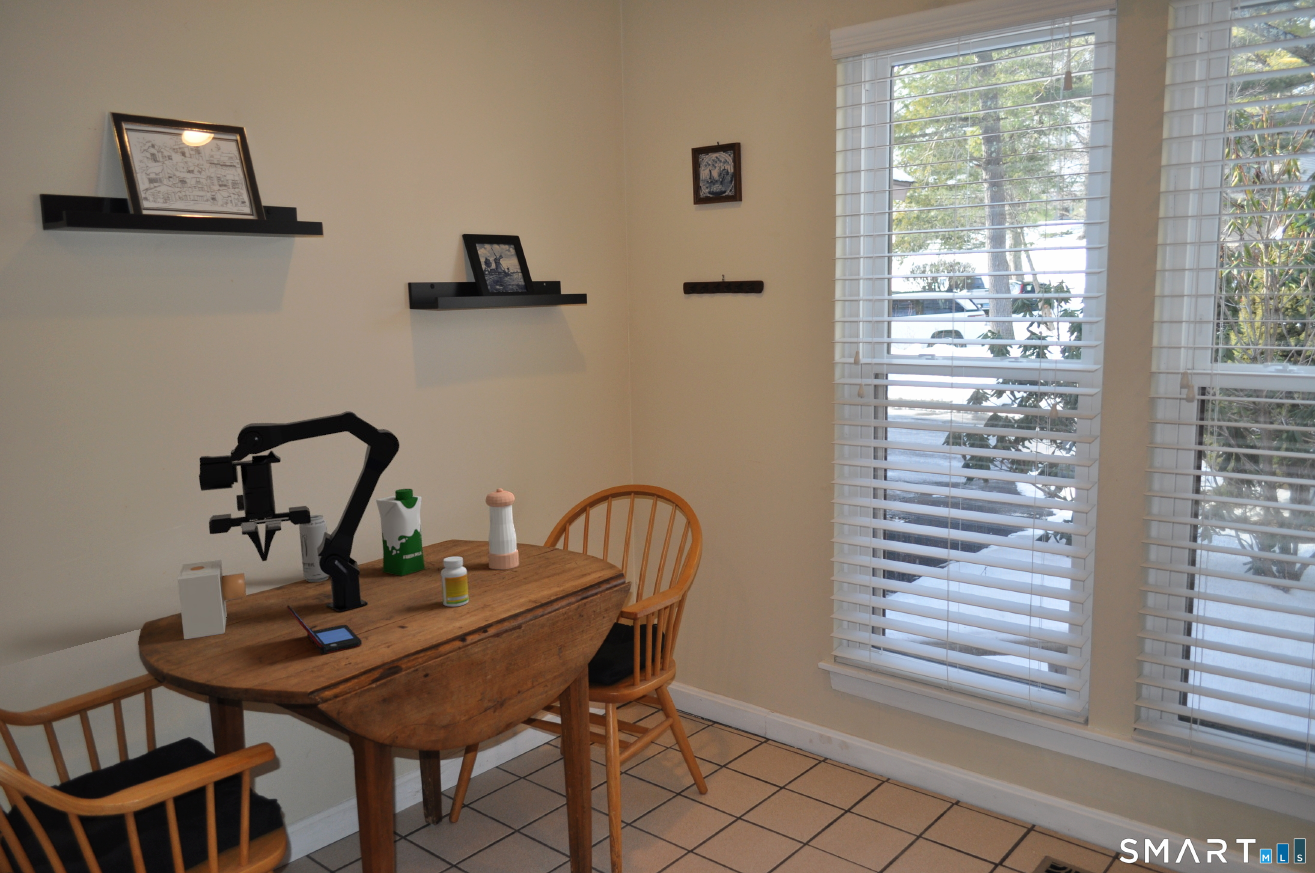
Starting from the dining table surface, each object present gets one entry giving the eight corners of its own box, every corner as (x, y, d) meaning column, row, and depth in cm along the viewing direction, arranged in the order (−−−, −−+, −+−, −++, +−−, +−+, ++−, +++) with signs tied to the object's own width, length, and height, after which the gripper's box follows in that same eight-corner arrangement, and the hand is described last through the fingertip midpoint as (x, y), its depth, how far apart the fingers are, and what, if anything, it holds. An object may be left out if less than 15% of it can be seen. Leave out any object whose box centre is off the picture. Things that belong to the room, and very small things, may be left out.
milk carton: (401, 577, 209) (395, 494, 206) (377, 572, 214) (370, 491, 212) (430, 568, 216) (425, 487, 213) (406, 563, 221) (400, 484, 219)
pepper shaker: (516, 569, 213) (511, 490, 210) (486, 570, 213) (481, 491, 211) (521, 560, 220) (517, 485, 218) (492, 561, 220) (487, 485, 218)
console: (226, 615, 185) (221, 558, 184) (224, 633, 174) (218, 572, 173) (189, 621, 183) (183, 562, 181) (184, 639, 172) (177, 577, 170)
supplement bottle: (473, 602, 189) (471, 557, 187) (452, 608, 185) (449, 563, 184) (459, 597, 192) (456, 553, 191) (437, 603, 188) (434, 559, 187)
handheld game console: (363, 647, 165) (360, 608, 164) (302, 661, 159) (299, 621, 158) (346, 628, 175) (343, 592, 174) (289, 640, 170) (285, 603, 169)
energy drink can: (299, 580, 210) (293, 518, 208) (323, 574, 214) (318, 513, 212) (311, 584, 206) (306, 521, 204) (335, 578, 210) (330, 516, 208)
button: (246, 593, 183) (243, 570, 182) (245, 600, 179) (243, 576, 178) (224, 596, 182) (222, 573, 181) (223, 603, 177) (221, 579, 176)
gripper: (305, 475, 191) (310, 546, 193) (208, 484, 183) (215, 557, 185) (307, 483, 181) (314, 557, 183) (205, 493, 173) (213, 570, 175)
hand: (264, 560), depth 182 cm, fingers closed
